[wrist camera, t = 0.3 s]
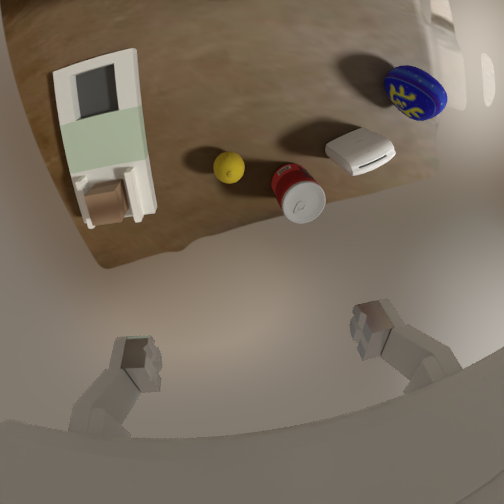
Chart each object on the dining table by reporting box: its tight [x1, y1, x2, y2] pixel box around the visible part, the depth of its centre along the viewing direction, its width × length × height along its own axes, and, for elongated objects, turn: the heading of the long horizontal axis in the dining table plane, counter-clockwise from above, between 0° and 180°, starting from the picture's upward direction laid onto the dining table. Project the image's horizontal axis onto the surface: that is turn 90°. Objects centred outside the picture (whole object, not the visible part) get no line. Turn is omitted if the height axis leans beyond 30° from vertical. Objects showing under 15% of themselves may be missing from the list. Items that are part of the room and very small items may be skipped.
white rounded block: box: [325, 128, 395, 176], centre depth 49 cm, size 10×4×12 cm, turn 117°
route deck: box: [53, 48, 157, 229], centre depth 45 cm, size 32×16×6 cm, turn 2°
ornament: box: [384, 65, 447, 121], centre depth 42 cm, size 11×9×15 cm
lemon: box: [213, 151, 245, 183], centre depth 51 cm, size 6×6×8 cm
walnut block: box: [84, 179, 129, 226], centre depth 49 cm, size 6×6×6 cm
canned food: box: [271, 164, 326, 223], centre depth 53 cm, size 8×8×11 cm
